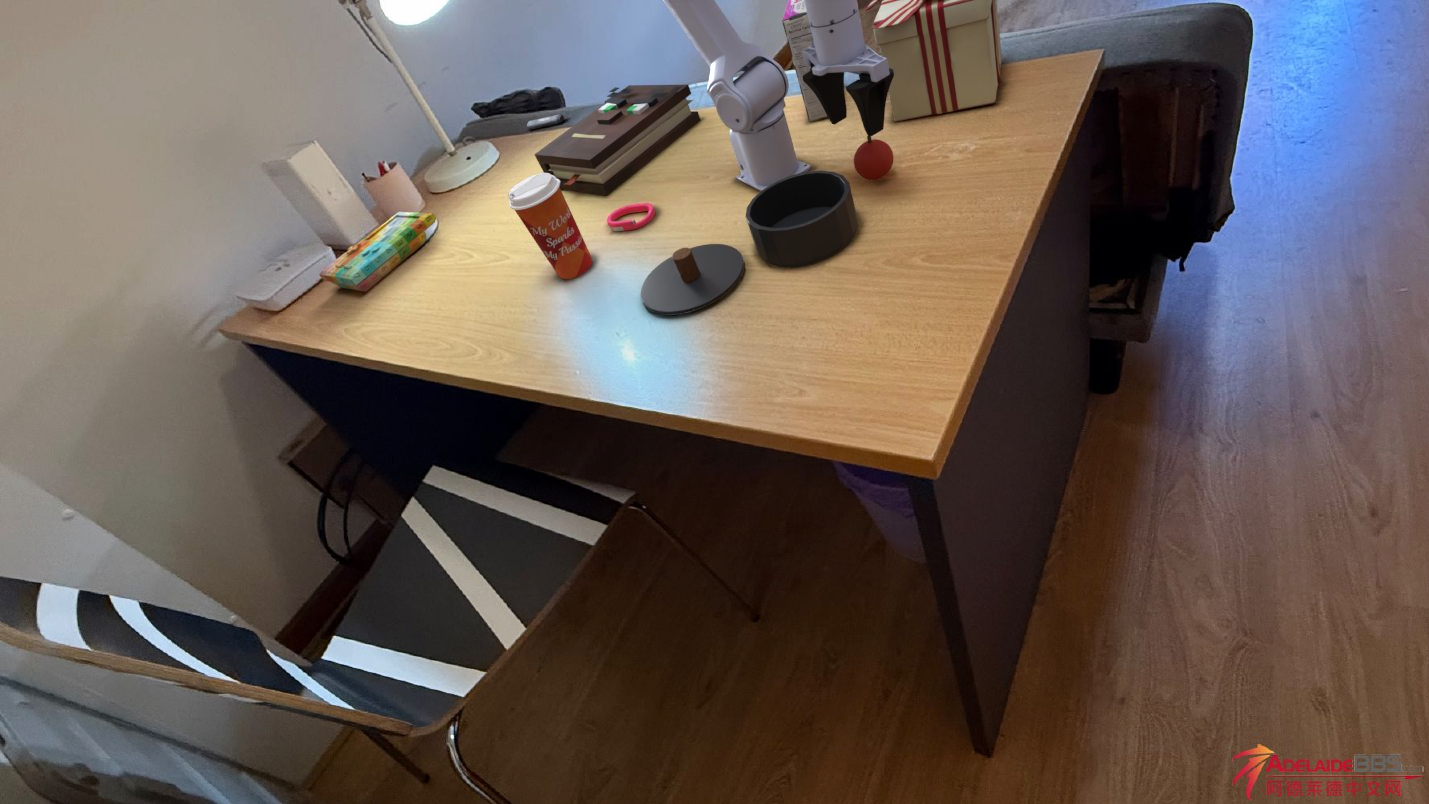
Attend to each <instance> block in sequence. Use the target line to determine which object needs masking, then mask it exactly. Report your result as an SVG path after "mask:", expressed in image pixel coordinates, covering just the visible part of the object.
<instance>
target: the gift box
mask: <svg viewBox="0 0 1429 804" xmlns="http://www.w3.org/2000/svg"><path fill="white" fill-rule="evenodd" d="M880 1H881V0H872V1H871V2H870V3H869V4H868V5H867V6H866V7H865V8H864V9H862V11H863V12H864V11H866V12H867V11H869V10H871V9H872V8H874V6H876V4H878V3H879V2H880ZM872 31H873V36H874V41H875V45H876V46H879V52H880V56H882V57H885V58H887V61H888V67H889V68H891V69H893V72H894V77H893V79H892V82H891V85H890V87H889V91H888V98H889V103H890V107H891V113H892V118H893V122H894V123H896V122H897V123H898V122H902V121H907V120H912V119H917V118H922V117H923V118H924V117H929V116H935V115H940V114H944V113H951V112H956V111H959V110H965V109H966V110H967V109H971V108H976V107H981V106H987V105H992V104H996V101H997V93H998V86H999V85H1001V77H1000V76H1001V66H1002V60H1003V57H1002V47H1001V34H1000V33H1001V32H1000V23H999V12H998V2H997V0H882V1H881V4H880V6H879V9H878V10H877V13H876V15H875V18H874V19H873V23H872Z"/></svg>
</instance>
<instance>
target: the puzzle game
mask: <svg viewBox="0 0 1429 804" xmlns="http://www.w3.org/2000/svg"><path fill="white" fill-rule="evenodd" d="M436 220H437V217H436V215H435V214H434V213H432V212H431V213H430V212H412V211H411V212H410V211H409V212H408V211H398V212H397V213H396V214H394V215H393V216H391V217H390V218H389V219H387V221H384V223H383V224H381V225H379V226H378V227H377V228H376V229H374V230H373V231H372V232H371V233H369V234H367V235H366V236H364V238H363V239H361V240H360V241H359V242H357V243H356V244H354V245H350V246H349V247H348V248H347V251H346V252H344V253H343V254H342V255H340V256H339V257H337V258H336V259H335V260H334V261H332V262H330V264H328V265H327V266H325V267H324V268H323V269H322V270H320V272H319V274H318V276H319V277H320V278H321V279H322V280H323V281H325V282H328V283H331V284H333V285H336V286H337V287H340V288H343V289H349V290H352V291H359V292H365V293H366V292H368V291H369V290H370V289H371V288H373V286H375V285H376V284H377V283H379V282H380V281H381V280H382V279H383V278H385V277H386V276H387V275H388V274H389V273H391V272H392V271H393V270H394V269H395V268H397V267H398V266H399V265H400V264H402V263H403V262H404V261H405V260H406V259H408V258H409V257H410V256H411V255H412V254H413V253H415V252H416V251H417V250H418V249H420V248H421V247H422V246H423V245H424V244H425V242H426V239H427V235H426V230H428V229H429V228H430V227H431V226H432V225H434V223H436Z"/></svg>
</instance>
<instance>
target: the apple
mask: <svg viewBox="0 0 1429 804" xmlns="http://www.w3.org/2000/svg"><path fill="white" fill-rule="evenodd" d="M866 138H867V140H866V141H865V142H863V143H861V144H860V145H859V146H858V148H857V149H856V151H855V153H854V156H853V166H854V170H855V171H856V174H858V176H859V177H860V178H862V179H864V180H867V181H878V180H881V179H883V178H884V177H886V176H887V175H888V174H889V173H890V171H891V169H892V168H893V165H894V160H895V159H894V158H895V157H894V152H893V150H892V148H891V146H890V145H889V144H888V143H887V142H885V141H884V140H881V139H876V138H875V139H873V138H872V136H868V135H866Z"/></svg>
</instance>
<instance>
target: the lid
mask: <svg viewBox="0 0 1429 804" xmlns="http://www.w3.org/2000/svg"><path fill="white" fill-rule="evenodd" d="M744 271H745V260H744V257H743V255H742V253H741V252H740V251H739V250H738V249H737V248H735V247H734V246H731V245H728V244H723V243H709V244H708V243H707V244H701V245H697V246H696V245H695V246H693V247H681V248H678V249H677V250H675V251H674V252H673V253H672V255H671V256H670V257H668V258H667V259H665V260H663V261H662V262H660V264H658V265H656V267H655V268H654V269H653V270H652V271H650V273H649V274H648V275H647V276H646V278H645V279H644V281H643V283H642V285H641V289H640V298H641V299H640V300H641V302H642V303H643V305H644V306H645V307H646V308H647V309H648V310H649V311H651V312H653V313H656V314H659V315H666V316H667V315H669V316H670V315H671V316H672V315H674V316H675V315H681V314H687V313H690V312H694V311H697V310H700V309H703V308H705V307H707V306H709V305H711V304H713V303H715V302H716V301H719V300H720V299H722V298H723V297H724V296H725V295H726V294H728V293H729V292H730V291H731V290H732V289H733V288H734V287H735V286H736V285H737V284H738V282H739V281H740V279H741V278H742V275H743V273H744Z"/></svg>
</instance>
